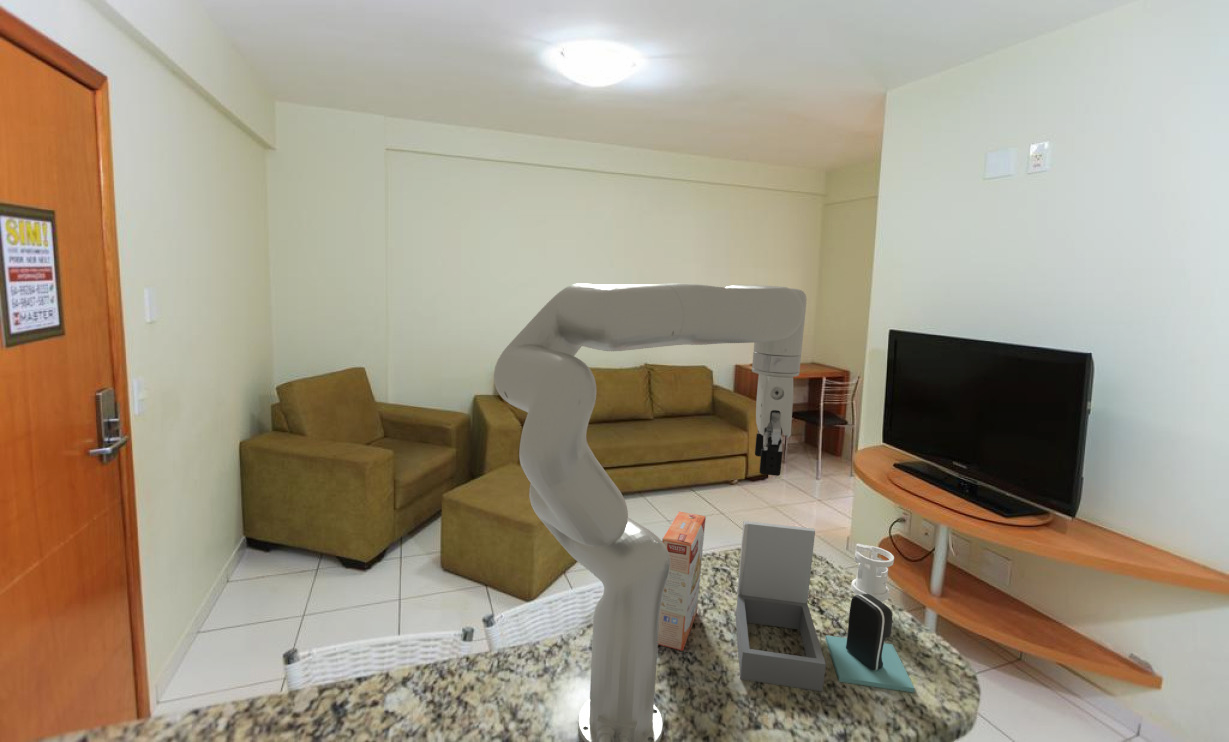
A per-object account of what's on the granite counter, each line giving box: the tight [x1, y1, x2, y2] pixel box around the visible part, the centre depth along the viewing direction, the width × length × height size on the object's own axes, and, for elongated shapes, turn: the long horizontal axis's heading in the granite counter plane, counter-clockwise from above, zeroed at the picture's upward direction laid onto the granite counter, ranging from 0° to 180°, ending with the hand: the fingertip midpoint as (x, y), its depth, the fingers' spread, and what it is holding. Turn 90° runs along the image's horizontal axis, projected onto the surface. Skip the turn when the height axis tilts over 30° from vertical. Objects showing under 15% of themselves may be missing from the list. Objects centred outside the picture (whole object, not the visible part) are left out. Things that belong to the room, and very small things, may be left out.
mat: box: [825, 634, 916, 694], centre depth 103 cm, size 12×12×1 cm
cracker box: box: [658, 511, 707, 652], centre depth 109 cm, size 14×6×21 cm, turn 161°
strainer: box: [850, 543, 895, 602], centre depth 117 cm, size 7×7×15 cm
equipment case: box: [735, 520, 827, 692], centre depth 104 cm, size 20×13×20 cm
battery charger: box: [846, 594, 894, 671], centre depth 102 cm, size 7×4×11 cm, turn 21°
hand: (766, 464), depth 96 cm, fingers open, 9 cm apart
